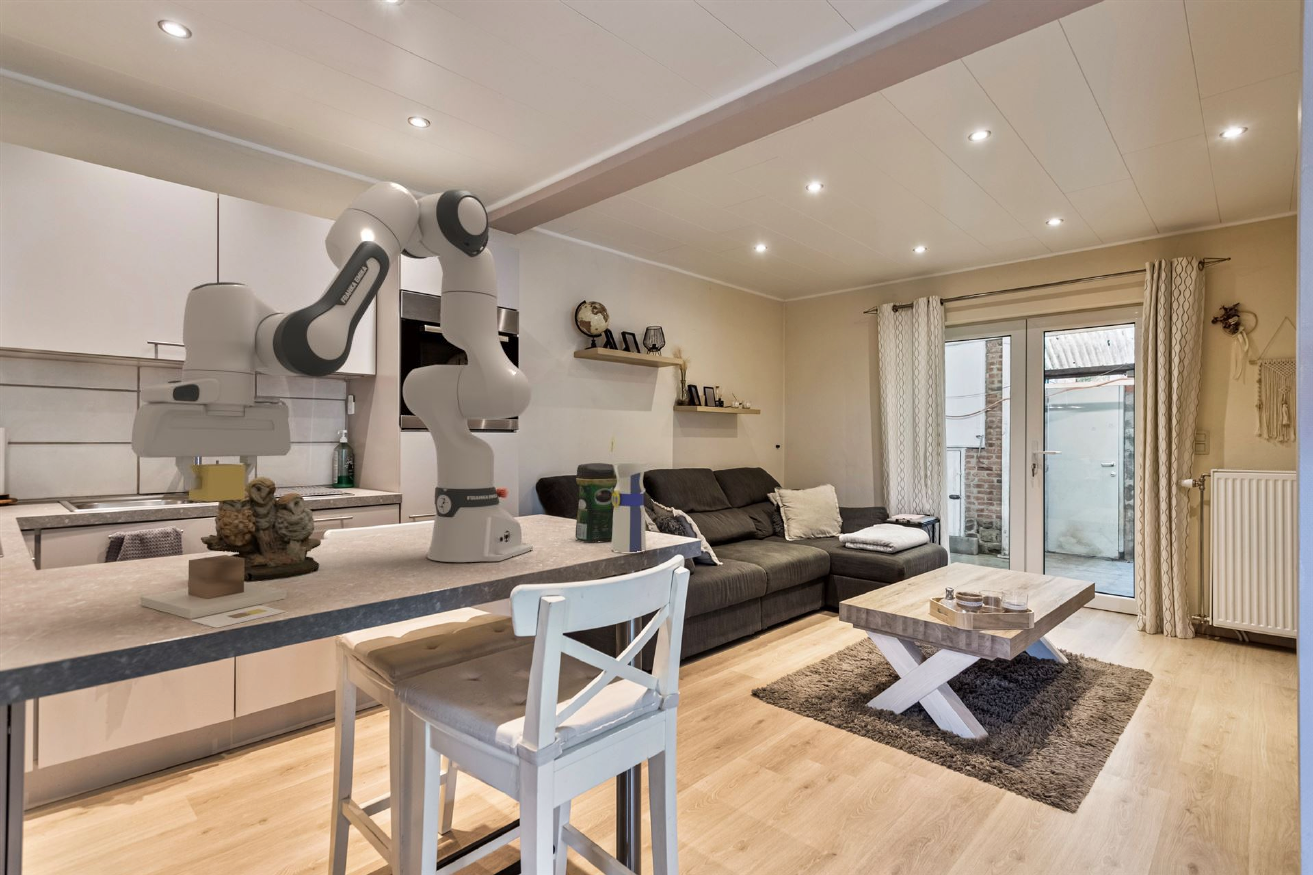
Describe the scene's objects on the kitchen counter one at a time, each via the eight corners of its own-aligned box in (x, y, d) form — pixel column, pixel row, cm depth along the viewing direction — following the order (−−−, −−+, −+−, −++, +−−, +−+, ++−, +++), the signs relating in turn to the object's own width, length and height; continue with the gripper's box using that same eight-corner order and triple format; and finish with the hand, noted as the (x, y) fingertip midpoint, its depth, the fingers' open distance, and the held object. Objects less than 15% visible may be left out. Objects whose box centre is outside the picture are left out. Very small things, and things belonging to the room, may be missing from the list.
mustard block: (225, 497, 99) (226, 463, 99) (244, 498, 97) (245, 464, 97) (188, 499, 95) (189, 464, 95) (208, 501, 92) (208, 466, 92)
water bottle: (619, 555, 139) (621, 437, 139) (603, 548, 146) (605, 436, 146) (654, 552, 142) (656, 437, 142) (636, 546, 150) (638, 437, 150)
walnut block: (224, 587, 99) (225, 554, 99) (243, 592, 97) (244, 558, 97) (188, 594, 95) (188, 560, 95) (207, 599, 92) (208, 563, 92)
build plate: (236, 587, 104) (236, 579, 104) (286, 598, 98) (286, 590, 98) (140, 605, 93) (141, 596, 93) (190, 618, 87) (190, 609, 87)
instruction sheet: (259, 605, 94) (259, 604, 94) (285, 611, 91) (285, 610, 91) (190, 620, 86) (190, 619, 86) (216, 628, 83) (216, 626, 83)
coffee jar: (604, 536, 164) (606, 462, 164) (621, 540, 158) (622, 463, 157) (570, 539, 159) (571, 462, 159) (585, 544, 152) (587, 464, 152)
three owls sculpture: (206, 588, 104) (207, 480, 104) (194, 576, 113) (195, 477, 113) (328, 572, 116) (329, 476, 116) (309, 563, 125) (309, 473, 125)
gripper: (276, 397, 106) (274, 483, 106) (126, 388, 88) (124, 491, 88) (300, 397, 103) (298, 485, 103) (150, 387, 85) (148, 494, 85)
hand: (217, 488), depth 96 cm, fingers closed on mustard block, 5 cm apart
